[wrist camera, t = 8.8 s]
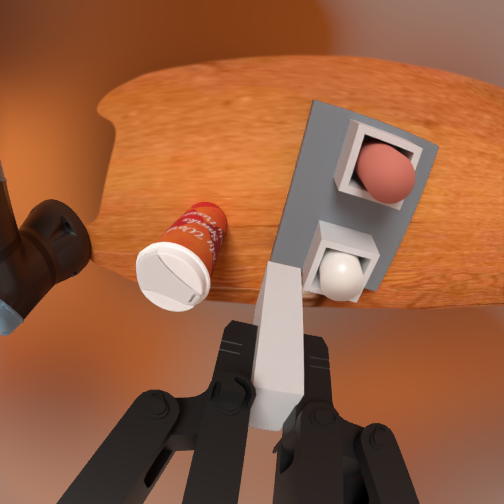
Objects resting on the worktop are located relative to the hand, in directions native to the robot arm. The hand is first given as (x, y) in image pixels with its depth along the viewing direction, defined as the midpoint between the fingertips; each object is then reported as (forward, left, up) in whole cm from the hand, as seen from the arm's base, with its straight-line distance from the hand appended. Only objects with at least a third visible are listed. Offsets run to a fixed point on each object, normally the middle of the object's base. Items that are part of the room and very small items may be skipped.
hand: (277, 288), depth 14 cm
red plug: (+9, +4, -22) cm, 24 cm away
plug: (+9, -9, -23) cm, 26 cm away
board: (+9, -3, -26) cm, 28 cm away
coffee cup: (-9, -11, -26) cm, 30 cm away
